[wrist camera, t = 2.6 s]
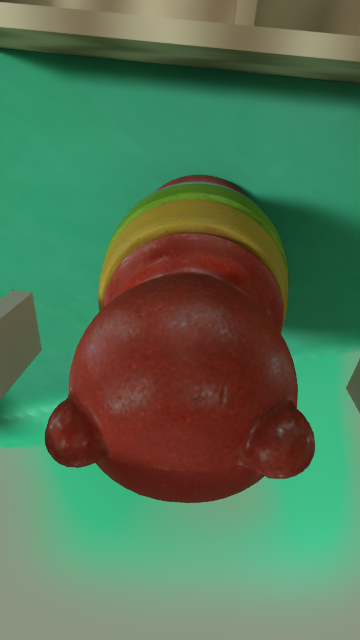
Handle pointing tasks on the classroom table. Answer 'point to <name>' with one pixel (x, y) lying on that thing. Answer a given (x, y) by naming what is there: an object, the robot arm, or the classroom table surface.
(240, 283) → the stacking bear
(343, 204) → the classroom table surface
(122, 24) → the divided wooden tray
